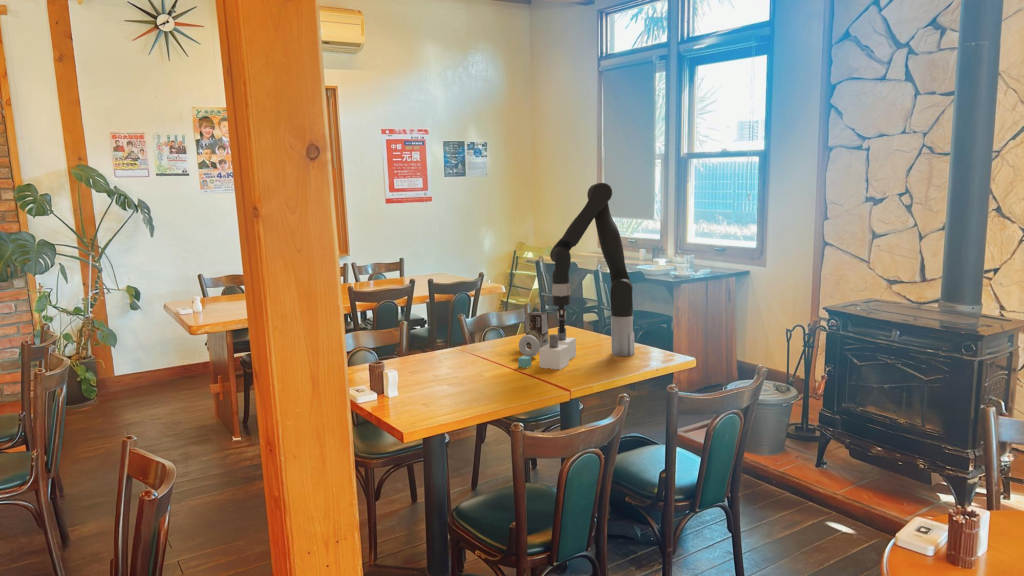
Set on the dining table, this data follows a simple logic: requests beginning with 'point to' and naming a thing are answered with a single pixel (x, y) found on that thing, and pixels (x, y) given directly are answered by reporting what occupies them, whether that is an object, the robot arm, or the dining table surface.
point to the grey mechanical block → (537, 327)
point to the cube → (524, 361)
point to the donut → (534, 343)
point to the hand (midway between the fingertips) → (561, 330)
